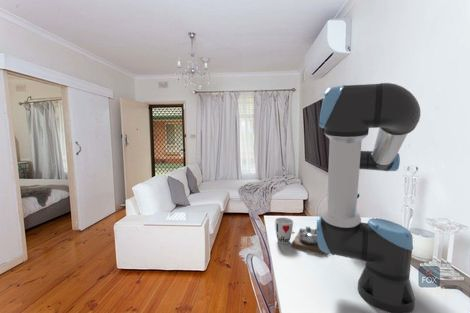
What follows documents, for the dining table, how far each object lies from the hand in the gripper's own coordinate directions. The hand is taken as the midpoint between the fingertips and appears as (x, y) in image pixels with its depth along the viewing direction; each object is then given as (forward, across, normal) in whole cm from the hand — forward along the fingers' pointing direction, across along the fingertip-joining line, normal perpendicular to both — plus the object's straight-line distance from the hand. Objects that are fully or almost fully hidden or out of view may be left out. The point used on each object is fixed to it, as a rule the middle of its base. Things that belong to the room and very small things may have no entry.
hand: (342, 226), depth 113 cm
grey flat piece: (+5, +10, +7) cm, 13 cm away
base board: (+7, +12, +11) cm, 18 cm away
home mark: (+7, +24, +1) cm, 25 cm away
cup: (+7, +24, +14) cm, 29 cm away
